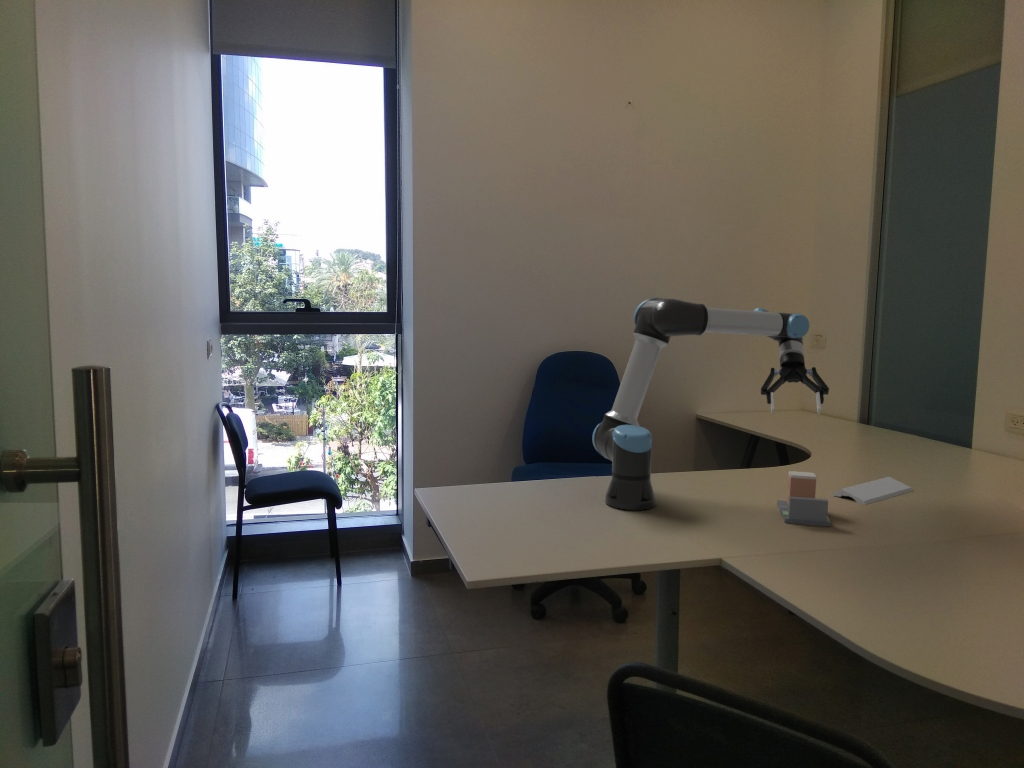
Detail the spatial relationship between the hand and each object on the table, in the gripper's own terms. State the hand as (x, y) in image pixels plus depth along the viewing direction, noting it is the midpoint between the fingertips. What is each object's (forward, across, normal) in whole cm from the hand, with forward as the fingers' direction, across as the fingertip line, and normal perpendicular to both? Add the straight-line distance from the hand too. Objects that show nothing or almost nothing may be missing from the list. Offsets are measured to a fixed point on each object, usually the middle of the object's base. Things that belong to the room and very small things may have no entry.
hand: (795, 411), depth 225 cm
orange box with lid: (+28, 0, -9) cm, 29 cm away
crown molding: (+12, -24, -32) cm, 42 cm away
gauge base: (+32, 0, -6) cm, 33 cm away
